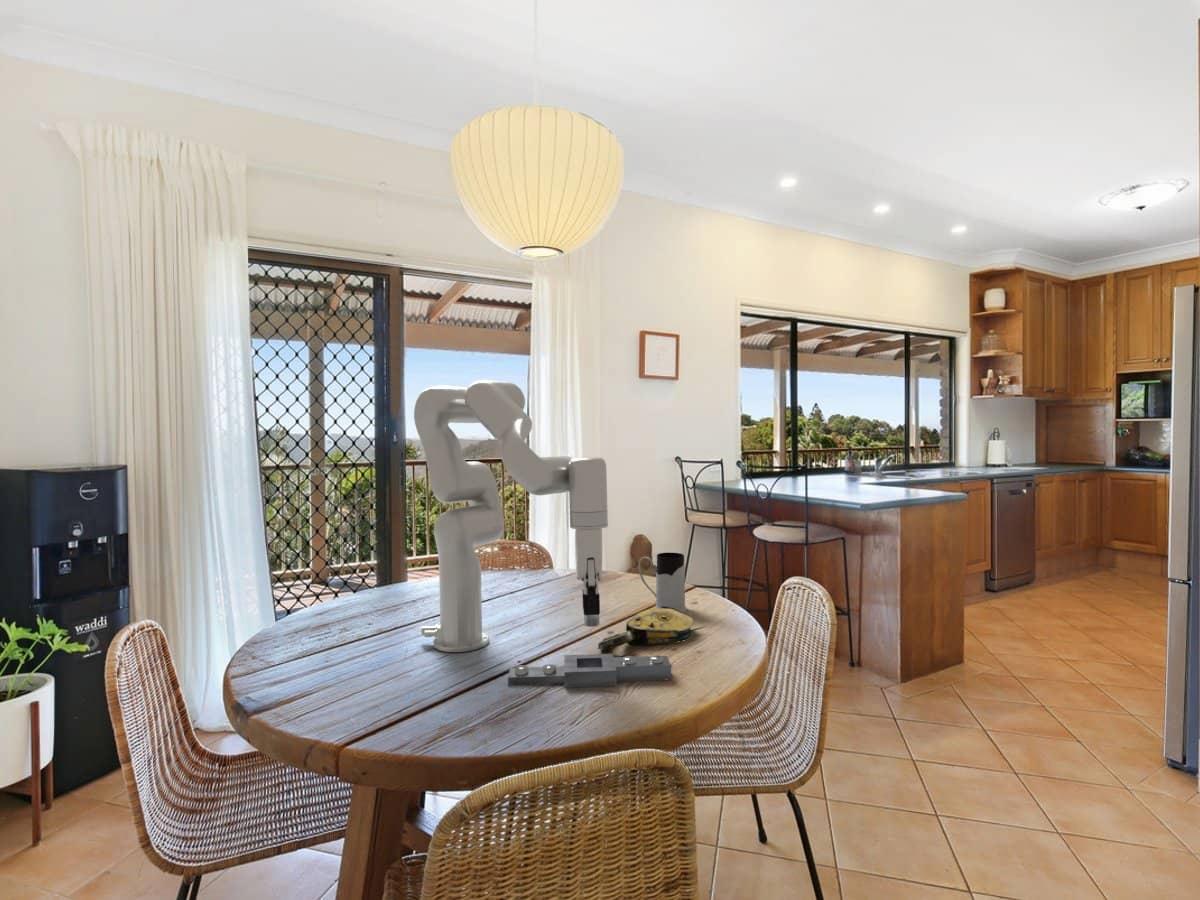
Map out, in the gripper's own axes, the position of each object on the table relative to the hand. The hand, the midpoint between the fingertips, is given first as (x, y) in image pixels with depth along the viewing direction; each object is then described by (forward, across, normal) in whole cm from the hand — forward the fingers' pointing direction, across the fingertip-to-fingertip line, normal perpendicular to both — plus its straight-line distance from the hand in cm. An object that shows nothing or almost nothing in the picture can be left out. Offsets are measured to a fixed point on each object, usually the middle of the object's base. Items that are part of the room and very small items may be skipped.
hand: (591, 610), depth 122 cm
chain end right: (+14, -1, +5) cm, 14 cm away
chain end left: (+13, -1, -6) cm, 15 cm away
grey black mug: (+14, -48, +21) cm, 54 cm away
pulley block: (+14, -22, +14) cm, 30 cm away
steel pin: (+3, 0, 0) cm, 3 cm away
